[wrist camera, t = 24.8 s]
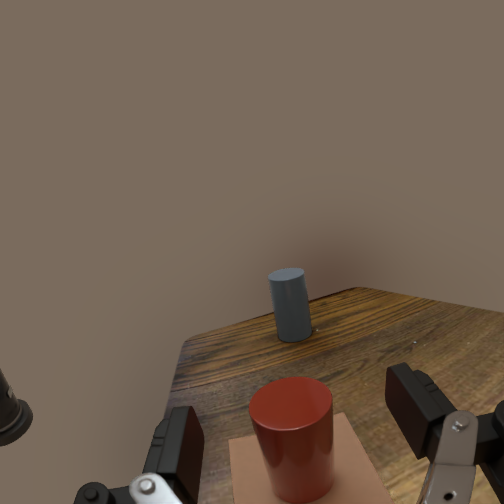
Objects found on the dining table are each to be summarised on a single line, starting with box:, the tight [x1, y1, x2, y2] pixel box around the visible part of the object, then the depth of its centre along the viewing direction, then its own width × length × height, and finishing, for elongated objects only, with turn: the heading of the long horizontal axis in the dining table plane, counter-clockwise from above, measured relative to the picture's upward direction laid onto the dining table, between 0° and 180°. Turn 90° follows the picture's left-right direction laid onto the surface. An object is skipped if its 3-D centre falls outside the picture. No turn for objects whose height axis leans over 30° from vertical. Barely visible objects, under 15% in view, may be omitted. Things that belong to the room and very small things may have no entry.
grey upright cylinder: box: [268, 268, 312, 342], centre depth 46 cm, size 5×5×10 cm
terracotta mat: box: [229, 412, 394, 504], centre depth 20 cm, size 12×14×1 cm
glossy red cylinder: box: [249, 377, 335, 504], centre depth 19 cm, size 5×5×10 cm
